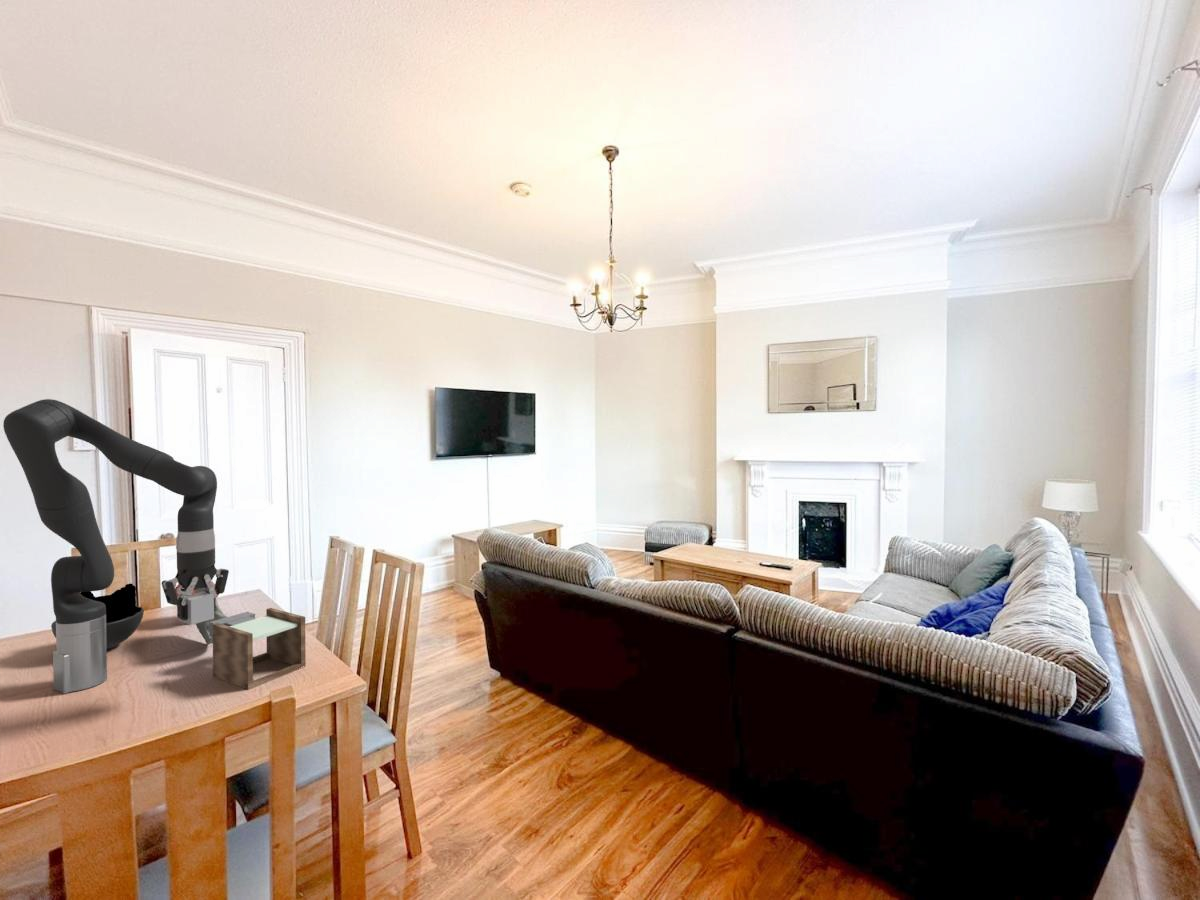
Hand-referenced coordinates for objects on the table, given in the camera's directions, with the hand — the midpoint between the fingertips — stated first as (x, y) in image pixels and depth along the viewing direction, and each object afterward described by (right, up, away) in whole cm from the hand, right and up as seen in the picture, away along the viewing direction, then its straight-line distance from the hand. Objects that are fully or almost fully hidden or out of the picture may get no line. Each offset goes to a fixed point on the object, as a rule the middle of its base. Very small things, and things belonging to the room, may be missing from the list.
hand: (197, 615), depth 130 cm
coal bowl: (-50, -19, +28) cm, 60 cm away
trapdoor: (+3, -11, +16) cm, 20 cm away
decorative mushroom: (-40, -18, +52) cm, 68 cm away
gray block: (0, -1, 0) cm, 1 cm away
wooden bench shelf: (+6, -20, +15) cm, 25 cm away
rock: (-21, -19, +32) cm, 43 cm away
